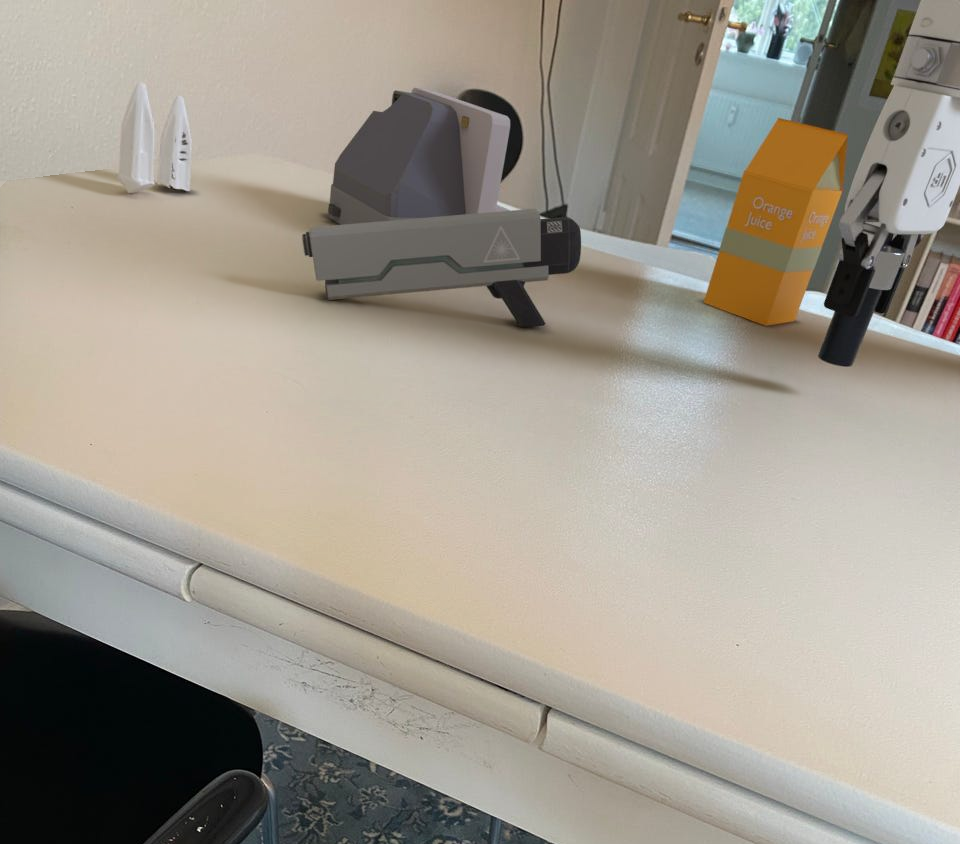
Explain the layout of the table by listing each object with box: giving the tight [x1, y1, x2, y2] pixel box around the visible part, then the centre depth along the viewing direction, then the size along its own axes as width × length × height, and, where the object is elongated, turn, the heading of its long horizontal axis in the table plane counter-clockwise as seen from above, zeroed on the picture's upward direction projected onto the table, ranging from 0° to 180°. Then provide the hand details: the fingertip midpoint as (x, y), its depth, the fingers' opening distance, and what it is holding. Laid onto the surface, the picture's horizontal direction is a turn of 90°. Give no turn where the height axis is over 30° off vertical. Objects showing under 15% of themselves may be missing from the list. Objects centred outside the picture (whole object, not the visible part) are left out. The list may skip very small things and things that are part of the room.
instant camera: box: [327, 87, 511, 225], centre depth 107 cm, size 21×21×15 cm
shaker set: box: [116, 81, 193, 194], centre depth 103 cm, size 12×4×11 cm, turn 158°
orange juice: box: [702, 117, 849, 327], centre depth 104 cm, size 8×9×20 cm
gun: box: [301, 208, 582, 328], centre depth 83 cm, size 2×25×10 cm, turn 98°
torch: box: [817, 240, 905, 368], centre depth 81 cm, size 4×4×10 cm
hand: (855, 308), depth 81 cm, fingers closed on torch, 4 cm apart
